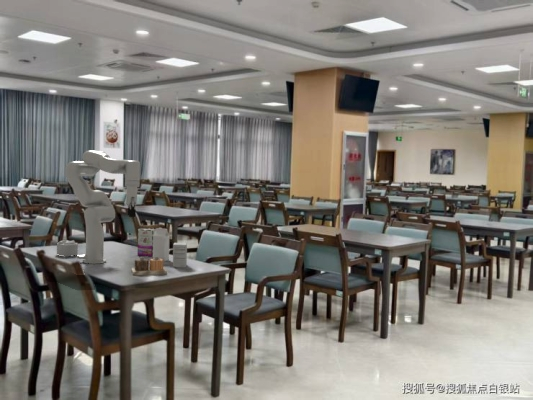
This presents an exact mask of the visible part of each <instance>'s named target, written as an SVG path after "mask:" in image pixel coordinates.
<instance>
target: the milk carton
mask: <svg viewBox="0 0 533 400" xmlns="http://www.w3.org/2000/svg"><path fill="white" fill-rule="evenodd" d="M155 230H156V231H155V233H154V235H153V257H152V259H154V257H159V259H163V263H164V262H168V261H169V260H170V233H169V231H168V228H164V227H163V228H162V227H155Z"/></svg>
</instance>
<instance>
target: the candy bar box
mask: <svg viewBox="0 0 533 400" xmlns="http://www.w3.org/2000/svg"><path fill="white" fill-rule="evenodd" d="M155 231H156V228H155V229H154V228H138V229H137V256H140V257H150V258H153V235H154V233H155Z"/></svg>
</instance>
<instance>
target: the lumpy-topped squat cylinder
mask: <svg viewBox="0 0 533 400" xmlns="http://www.w3.org/2000/svg"><path fill="white" fill-rule="evenodd" d="M78 245H79V244H78V242H76V241H75V240H74V239H73V240H68V239H66V240H65V239H64V240H60V241H59V242H57V243H56V255H57V254H59V255H64V256H71V255H79V254H78V253H79V252H78V251H79V250H78V247H79V246H78ZM71 257H72V256H71Z"/></svg>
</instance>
